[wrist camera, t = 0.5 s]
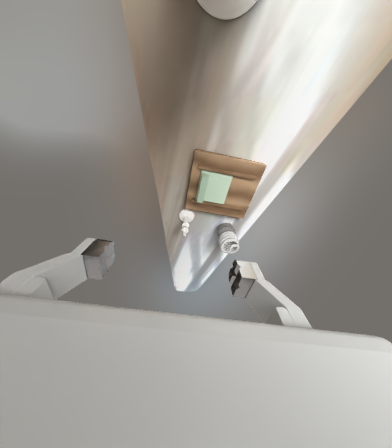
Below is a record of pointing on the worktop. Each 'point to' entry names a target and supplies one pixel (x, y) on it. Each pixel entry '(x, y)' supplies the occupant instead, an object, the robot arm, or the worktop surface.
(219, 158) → the board
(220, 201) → the cover
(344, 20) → the worktop surface
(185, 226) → the chess piece
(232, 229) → the light bulb
